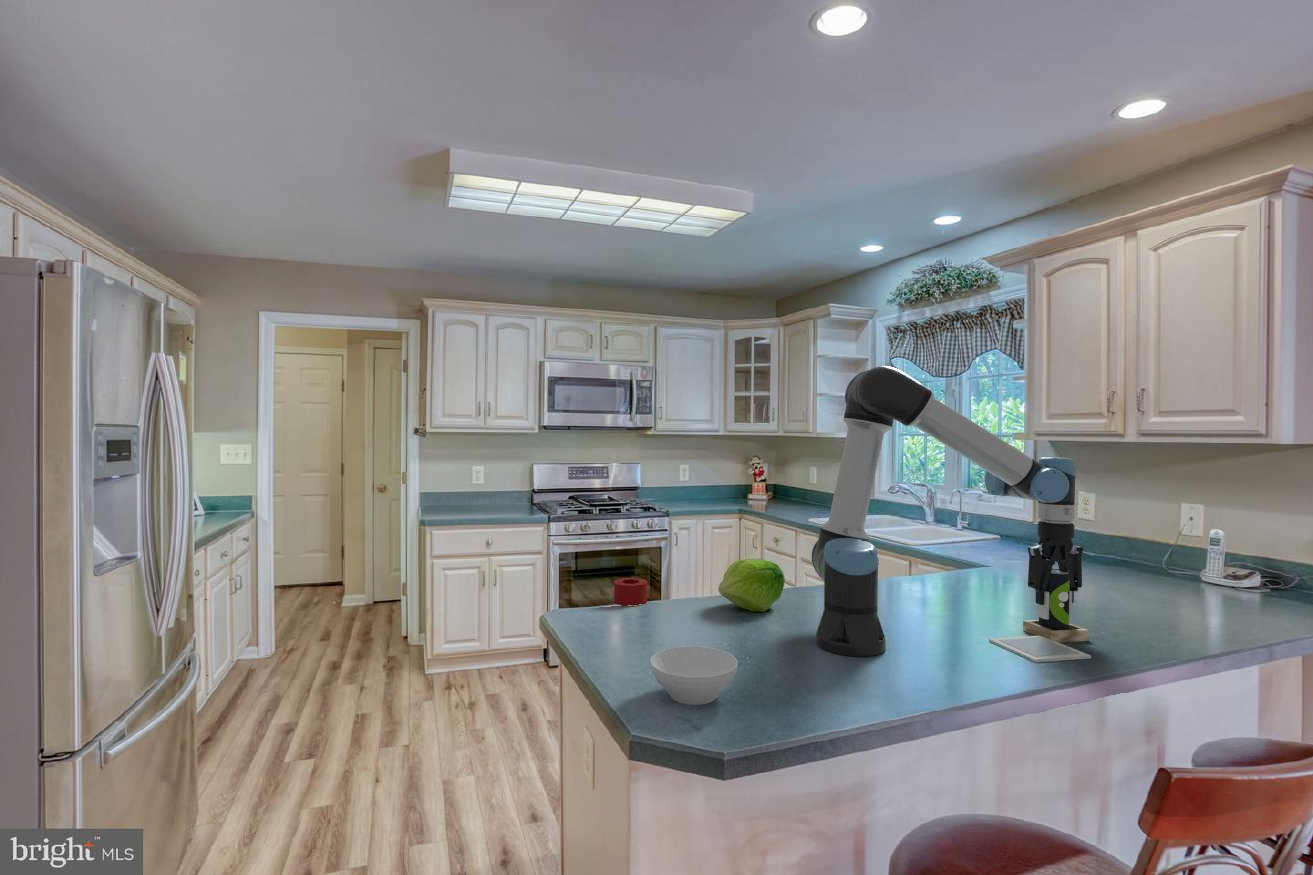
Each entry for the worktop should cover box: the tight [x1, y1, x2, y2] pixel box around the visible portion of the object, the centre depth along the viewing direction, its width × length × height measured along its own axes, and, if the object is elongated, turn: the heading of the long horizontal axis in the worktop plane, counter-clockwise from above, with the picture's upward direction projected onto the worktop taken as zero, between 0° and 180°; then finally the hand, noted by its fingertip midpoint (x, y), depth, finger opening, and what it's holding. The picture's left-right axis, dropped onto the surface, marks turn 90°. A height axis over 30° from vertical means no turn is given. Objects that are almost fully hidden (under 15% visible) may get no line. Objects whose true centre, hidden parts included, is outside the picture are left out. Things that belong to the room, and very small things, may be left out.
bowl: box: [649, 645, 739, 706], centre depth 116 cm, size 16×16×7 cm
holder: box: [1022, 619, 1090, 644], centre depth 153 cm, size 10×10×2 cm
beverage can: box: [1038, 567, 1070, 631], centre depth 154 cm, size 6×6×15 cm
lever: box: [613, 577, 648, 607], centre depth 184 cm, size 18×9×7 cm, turn 175°
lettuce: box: [717, 558, 786, 613], centre depth 175 cm, size 15×20×14 cm
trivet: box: [988, 635, 1092, 663], centre depth 143 cm, size 14×14×1 cm
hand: (1054, 617), depth 153 cm, fingers closed on beverage can, 6 cm apart
